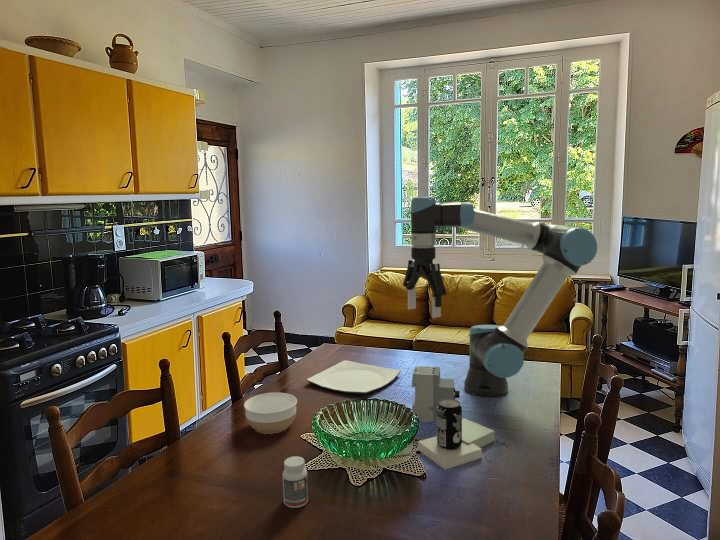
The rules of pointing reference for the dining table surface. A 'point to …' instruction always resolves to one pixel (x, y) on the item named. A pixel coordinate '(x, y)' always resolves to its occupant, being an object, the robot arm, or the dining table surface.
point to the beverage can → (449, 423)
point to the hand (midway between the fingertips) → (423, 312)
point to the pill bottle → (295, 482)
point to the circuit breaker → (430, 392)
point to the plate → (354, 377)
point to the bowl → (270, 412)
